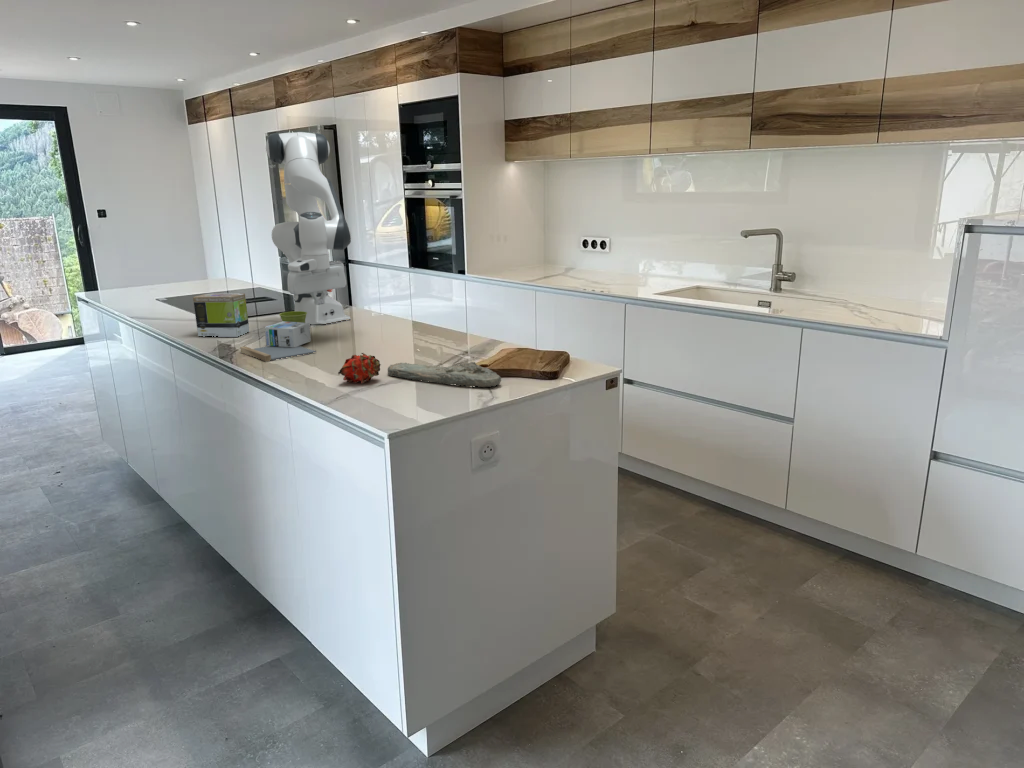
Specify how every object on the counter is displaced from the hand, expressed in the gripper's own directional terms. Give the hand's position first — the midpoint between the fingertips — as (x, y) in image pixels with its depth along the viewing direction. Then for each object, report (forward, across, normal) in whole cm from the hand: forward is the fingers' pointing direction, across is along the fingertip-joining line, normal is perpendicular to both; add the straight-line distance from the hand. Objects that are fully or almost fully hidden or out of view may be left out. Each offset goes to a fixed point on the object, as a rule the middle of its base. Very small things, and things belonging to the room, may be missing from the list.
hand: (319, 304), depth 234 cm
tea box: (+14, +18, -39) cm, 45 cm away
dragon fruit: (+12, +20, +53) cm, 58 cm away
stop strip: (+12, +26, +3) cm, 29 cm away
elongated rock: (+12, +3, +67) cm, 68 cm away
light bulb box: (+9, +8, 0) cm, 12 cm away
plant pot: (+14, +2, -16) cm, 21 cm away
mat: (+13, +17, +3) cm, 22 cm away
